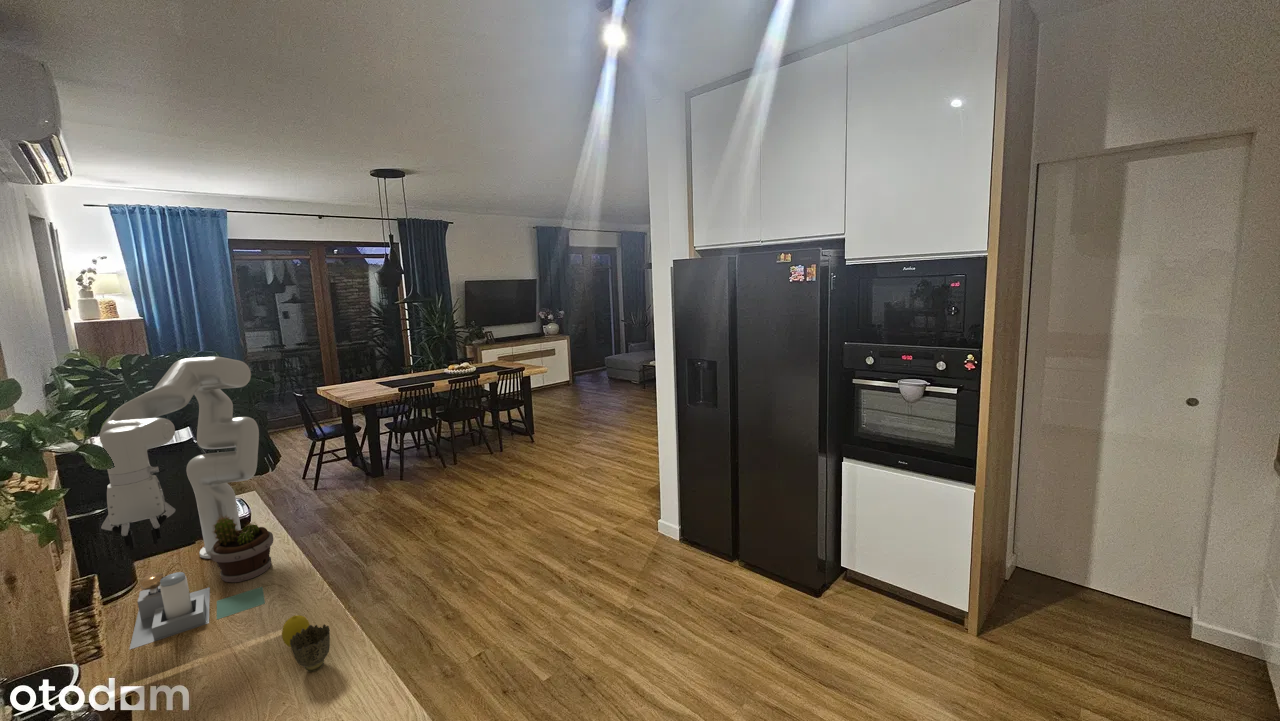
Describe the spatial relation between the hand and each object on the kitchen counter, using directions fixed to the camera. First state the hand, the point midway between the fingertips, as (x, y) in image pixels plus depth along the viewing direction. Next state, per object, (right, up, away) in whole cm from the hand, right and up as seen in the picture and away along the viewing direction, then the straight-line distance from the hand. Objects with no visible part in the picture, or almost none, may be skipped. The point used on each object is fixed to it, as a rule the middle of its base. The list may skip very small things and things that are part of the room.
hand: (144, 544), depth 136 cm
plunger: (0, -16, +3) cm, 16 cm away
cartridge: (+11, -19, -2) cm, 22 cm away
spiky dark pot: (+54, -21, -18) cm, 61 cm away
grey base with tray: (+7, -19, +1) cm, 20 cm away
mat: (+21, -18, +5) cm, 28 cm away
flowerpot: (+12, -16, +20) cm, 28 cm away
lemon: (+46, -20, -11) cm, 52 cm away
